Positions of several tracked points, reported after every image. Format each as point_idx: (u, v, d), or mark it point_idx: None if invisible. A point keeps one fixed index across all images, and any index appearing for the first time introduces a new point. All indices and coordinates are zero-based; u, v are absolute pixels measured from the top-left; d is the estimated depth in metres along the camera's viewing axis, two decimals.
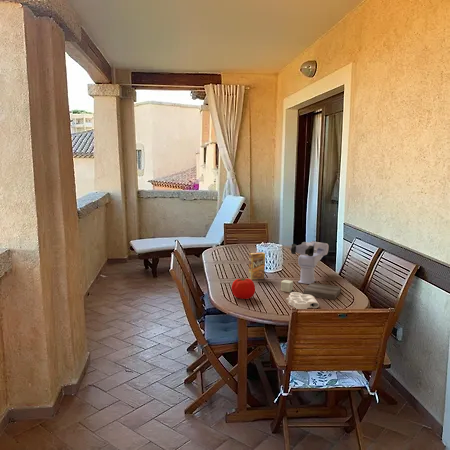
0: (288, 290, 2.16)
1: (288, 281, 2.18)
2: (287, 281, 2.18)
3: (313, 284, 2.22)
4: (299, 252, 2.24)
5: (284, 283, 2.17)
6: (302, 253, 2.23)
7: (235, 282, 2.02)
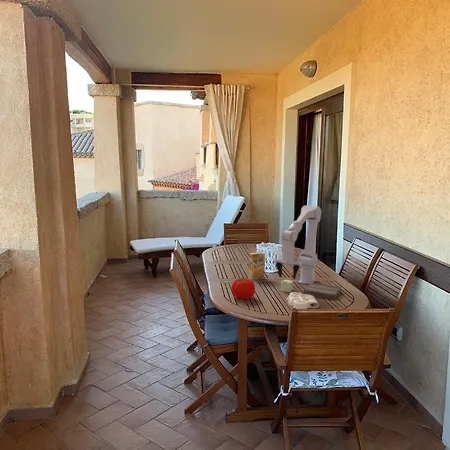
0: (288, 290, 2.16)
1: (288, 281, 2.18)
2: (287, 281, 2.18)
3: (313, 284, 2.22)
4: None
5: (284, 283, 2.17)
6: None
7: (235, 282, 2.02)
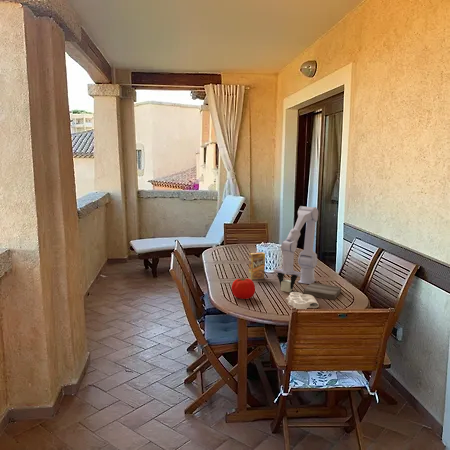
0: (288, 290, 2.16)
1: (288, 281, 2.18)
2: (287, 281, 2.18)
3: (313, 284, 2.22)
4: None
5: (284, 283, 2.17)
6: None
7: (235, 282, 2.02)
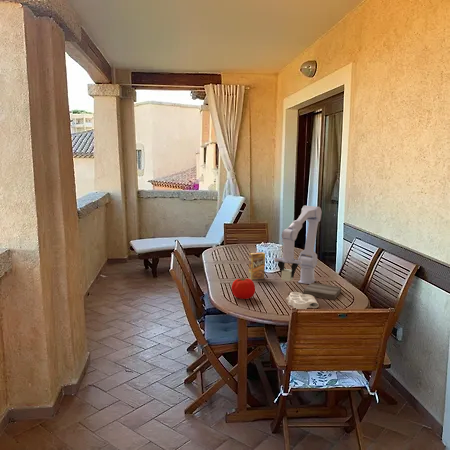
0: (289, 279, 2.15)
1: (288, 270, 2.17)
2: (287, 270, 2.17)
3: (313, 284, 2.22)
4: None
5: (284, 272, 2.16)
6: None
7: (235, 282, 2.02)
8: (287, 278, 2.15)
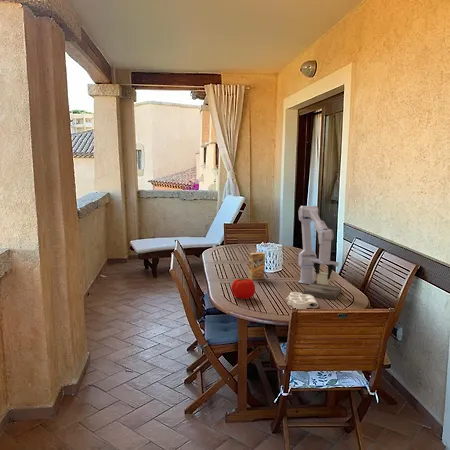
0: (325, 282, 2.11)
1: (324, 273, 2.14)
2: (323, 273, 2.14)
3: (313, 284, 2.22)
4: None
5: (321, 275, 2.12)
6: None
7: (235, 282, 2.02)
8: (323, 281, 2.12)
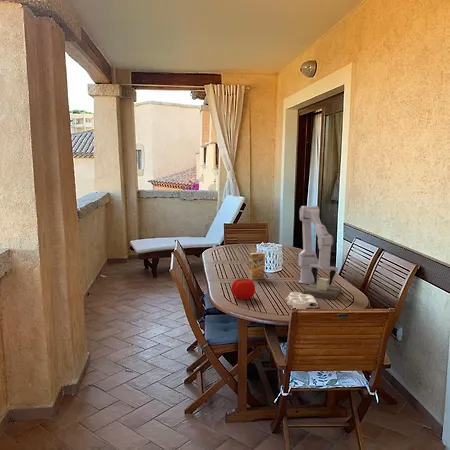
0: (324, 288, 2.12)
1: (324, 279, 2.14)
2: (323, 279, 2.14)
3: (313, 284, 2.22)
4: None
5: (320, 281, 2.12)
6: None
7: (235, 282, 2.02)
8: (323, 287, 2.12)
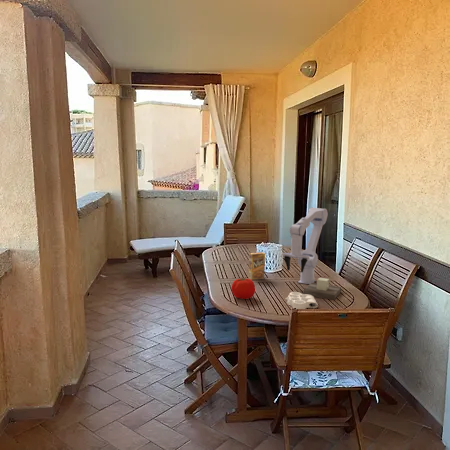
0: (324, 288, 2.12)
1: (324, 279, 2.14)
2: (323, 279, 2.14)
3: (313, 284, 2.22)
4: None
5: (320, 281, 2.12)
6: None
7: (235, 282, 2.02)
8: (323, 287, 2.12)
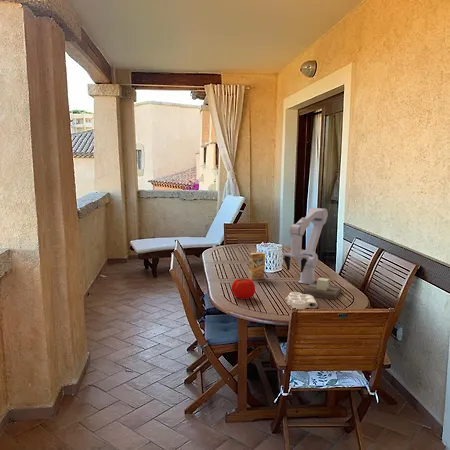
0: (324, 288, 2.12)
1: (324, 279, 2.14)
2: (323, 279, 2.14)
3: (313, 284, 2.22)
4: None
5: (320, 281, 2.12)
6: None
7: (235, 282, 2.02)
8: (323, 287, 2.12)
